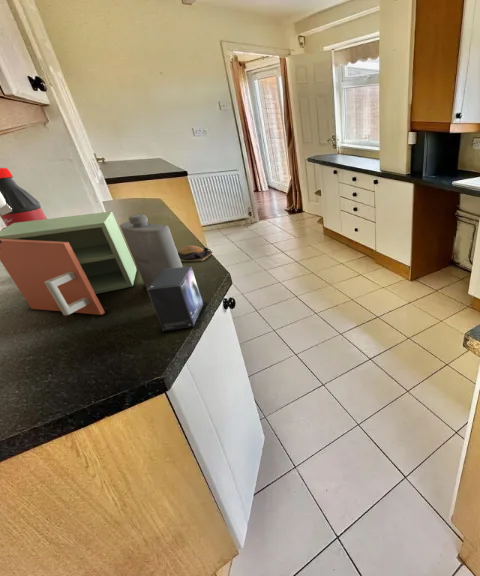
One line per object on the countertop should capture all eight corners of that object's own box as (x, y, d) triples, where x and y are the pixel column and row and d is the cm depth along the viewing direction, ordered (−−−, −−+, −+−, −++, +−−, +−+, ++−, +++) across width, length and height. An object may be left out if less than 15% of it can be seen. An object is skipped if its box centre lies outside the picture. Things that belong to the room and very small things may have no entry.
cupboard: (132, 286, 87) (104, 222, 78) (35, 306, 78) (-10, 237, 69) (136, 269, 97) (111, 211, 88) (50, 286, 88) (13, 223, 79)
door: (79, 327, 69) (35, 253, 61) (5, 320, 72) (-46, 248, 64) (105, 312, 75) (68, 242, 66) (35, 306, 78) (-8, 238, 69)
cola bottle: (60, 266, 100) (4, 165, 86) (81, 268, 98) (28, 166, 84) (28, 278, 93) (-38, 170, 78) (51, 280, 91) (-13, 170, 77)
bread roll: (169, 262, 101) (165, 251, 100) (184, 252, 109) (180, 242, 107) (202, 262, 101) (198, 251, 99) (214, 252, 109) (211, 242, 107)
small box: (196, 327, 69) (180, 285, 64) (162, 332, 68) (144, 289, 63) (205, 303, 78) (192, 264, 73) (176, 307, 76) (160, 268, 72)
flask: (138, 287, 86) (107, 215, 77) (160, 278, 91) (132, 209, 81) (173, 299, 80) (143, 222, 71) (194, 289, 85) (169, 215, 75)
